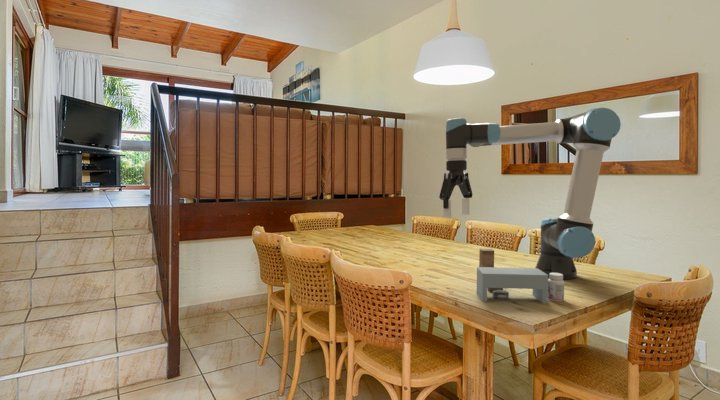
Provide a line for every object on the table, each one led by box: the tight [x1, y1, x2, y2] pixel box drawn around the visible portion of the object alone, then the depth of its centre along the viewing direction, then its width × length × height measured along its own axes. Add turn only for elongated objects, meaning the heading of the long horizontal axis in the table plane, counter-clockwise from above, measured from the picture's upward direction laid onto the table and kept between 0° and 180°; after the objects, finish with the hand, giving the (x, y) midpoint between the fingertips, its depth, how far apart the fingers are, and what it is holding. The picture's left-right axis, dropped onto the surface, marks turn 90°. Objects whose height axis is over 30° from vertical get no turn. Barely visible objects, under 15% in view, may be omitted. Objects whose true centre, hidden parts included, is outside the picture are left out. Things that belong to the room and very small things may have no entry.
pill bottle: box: [547, 273, 565, 302], centre depth 125 cm, size 5×5×8 cm
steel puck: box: [492, 289, 510, 301], centre depth 127 cm, size 5×5×2 cm
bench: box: [476, 266, 549, 304], centre depth 126 cm, size 20×9×9 cm, turn 84°
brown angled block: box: [478, 247, 504, 292], centre depth 142 cm, size 17×5×12 cm, turn 174°
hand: (456, 216), depth 147 cm, fingers open, 13 cm apart
